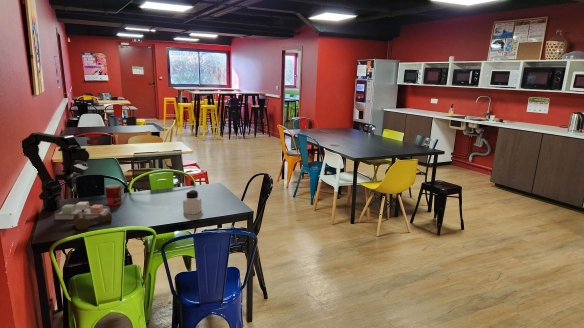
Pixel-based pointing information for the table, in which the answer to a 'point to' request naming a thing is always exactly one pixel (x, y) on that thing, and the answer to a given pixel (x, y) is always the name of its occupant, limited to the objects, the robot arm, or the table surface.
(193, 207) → the medicine bottle
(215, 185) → the table surface
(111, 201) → the canned food
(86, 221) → the kendama
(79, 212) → the keypad base
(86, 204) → the key white
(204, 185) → the table surface
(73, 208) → the key sage
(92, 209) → the key terracotta
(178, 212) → the table surface
